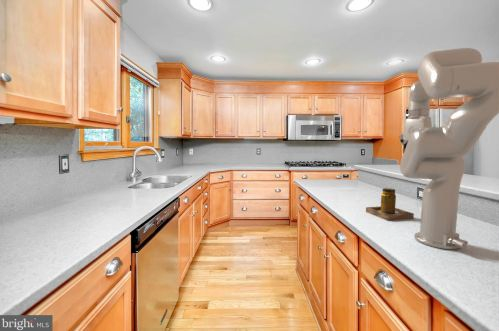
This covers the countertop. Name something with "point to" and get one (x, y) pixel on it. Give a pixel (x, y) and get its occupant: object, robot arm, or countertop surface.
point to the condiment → (388, 201)
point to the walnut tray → (399, 216)
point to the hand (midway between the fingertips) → (416, 153)
